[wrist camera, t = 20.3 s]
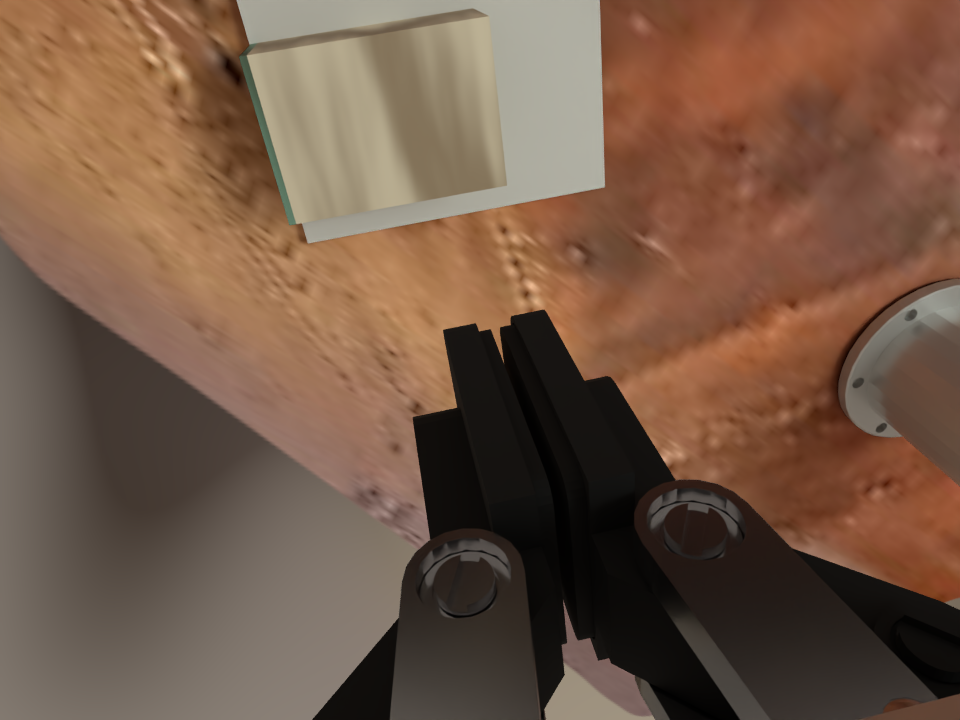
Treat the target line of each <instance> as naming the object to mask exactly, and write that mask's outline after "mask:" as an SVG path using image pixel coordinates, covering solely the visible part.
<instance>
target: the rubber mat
mask: <svg viewBox="0 0 960 720" xmlns="http://www.w3.org/2000/svg"><path fill="white" fill-rule="evenodd" d="M237 3H238V7H239V10H240V14H241V17H242V20H243V24H244V27H245V31H246V34H247V37H248V41H249V44H254V43H260V42H266V41H273V40H279V39H285V38H291V37H297V36H304V35H310V34H316V33H322V32H328V31H335V30H341V29H347V28H353V27H360V26H366V25H372V24H378V23H384V22H391V21H397V20H403V19H409V18H416V17H422V16H428V15H434V14H440V13H447V12H453V11H459V10H465V9H471V8H473V9H476V10H478V11H480V12H482V13H484V14H486V15H488V16H489V19H490V28H491V38H492V47H493V56H494V66H495V75H496V85H497V94H498V104H499V113H500V123H501V132H502V142H503V151H504V161H505V170H506V180H507V186H502V187H497V188H492V189H486V190H481V191H475V192H470V193H464V194H459V195H453V196H448V197H442V198H437V199H431V200H426V201H420V202H415V203H409V204H404V205H399V206H393V207H388V208H382V209H377V210H371V211H366V212H360V213H355V214H349V215H344V216H338V217H333V218H327V219H322V220H316V221H311V222H306V223H302V225H303V228H304V232H305V235H306V238H307V242H308V243H313V242H318V241H323V240H329V239H334V238H339V237H345V236H350V235H355V234H360V233H366V232H371V231H376V230H382V229H387V228H392V227H397V226H403V225H408V224H413V223H418V222H424V221H429V220H434V219H440V218H445V217H450V216H455V215H461V214H466V213H471V212H477V211H482V210H487V209H492V208H498V207H503V206H508V205H514V204H519V203H524V202H529V201H535V200H540V199H545V198H550V197H556V196H561V195H566V194H572V193H577V192H582V191H587V190H593V189H598V188H603V187H605V177H604V140H603V103H602V66H601V29H600V0H237Z"/></svg>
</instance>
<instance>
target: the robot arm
mask: <svg viewBox="0 0 960 720" xmlns="http://www.w3.org/2000/svg"><path fill="white" fill-rule="evenodd" d="M443 333H444V339H445V345H446V350H447V355H448V360H449V366H450V371H451V376H452V382H453V387H454V392H455V398H456V403H457V408H454V409H449V410H445V411H440V412H435V413H431V414H426V415H421V416H416V417H413V424H414V431H415V438H416V445H417V451H418V458H419V465H420V472H421V479H422V486H423V493H424V499H425V506H426V513H427V520H428V527H429V534H430V540H429V541H428V542H427V543H426V544H425V545H423V546H422V547H421V548H420V549H419V550H418V551H416V552H415V554H414V556H413V557H412V558H411V560H410V561H409V563H408V564H407V566H406V569H405V573H404V576H403V580H402V587H401V598H400V599H401V600H400V610H399V618H398V619H397V620H396V622H395V623H394V624H393V625H392V627H391V628H390V629H389V630H388V631H387V632H386V634H385V635H384V636H383V637H382V638H381V640H380V641H379V642H378V643H377V644H376V645H375V646H374V648H373V649H372V650H371V651H370V652H369V653H368V655H367V656H366V657H365V658H364V659H363V661H362V662H361V663H360V664H359V665H358V666H357V668H356V669H355V670H354V671H353V672H352V674H351V675H350V676H349V677H348V678H347V679H346V681H345V682H344V683H343V684H342V685H341V686H340V688H339V689H338V690H337V691H336V692H335V694H334V695H333V696H332V697H331V698H330V700H329V701H328V702H327V703H326V704H325V705H324V707H323V708H322V709H321V710H320V711H319V712H318V714H317V715H316V716H315V717H314V718H313V720H546V717H545V711H544V709H545V707H546V705H547V703H548V702H549V700H550V698H551V697H552V695H553V693H554V692H555V690H556V688H557V687H558V685H559V683H560V682H561V680H562V678H563V677H564V675H565V674H564V664H563V655H562V644H566V643H567V637H566V626H565V616H564V606H563V600H564V603H565V606H566V609H567V612H568V615H569V618H570V621H571V624H572V627H573V630H574V633H575V636H576V638H577V639H578V641H579V640H583V639H587V638H590V639H591V642H592V644H593V647H594V650H595V653H596V656H597V658H598V661H599V660H603V659H607V658H609V659H610V661H611V663H612V664H614V665H616V666H618V667H619V668H621V669H623V670H625V671H627V672H629V673H631V674H633V675H635V681H636V683H637V686H638V689H639V691H640V694H641V696H642V697H643V699H644V701H645V703H646V704H647V706H648V708H649V710H650V711H651V713H652V715H653V717H654V718H655V720H960V610H958V609H956V608H954V607H952V606H950V605H948V604H946V603H943V602H941V601H938V600H935V599H933V598H930V597H927V596H924V595H921V594H919V593H916V592H913V591H910V590H907V589H905V588H902V587H899V586H896V585H893V584H891V583H888V582H885V581H882V580H879V579H877V578H874V577H871V576H868V575H865V574H863V573H860V572H857V571H854V570H851V569H849V568H846V567H843V566H840V565H837V564H835V563H832V562H829V561H826V560H823V559H821V558H818V557H815V556H812V555H809V554H807V553H804V552H801V551H798V550H795V549H793V548H791V547H790V546H789V545H788V544H787V543H786V542H785V541H784V540H783V539H782V538H781V537H780V536H779V535H778V534H777V533H776V532H775V531H774V529H773V528H772V527H771V526H770V525H769V524H768V523H767V522H766V521H765V520H764V519H763V518H762V517H761V516H760V515H759V514H758V513H757V512H756V511H755V510H754V509H753V508H752V507H751V506H750V505H749V504H748V503H747V502H746V501H745V500H743V499H742V498H741V497H740V496H738V495H737V494H736V493H734V492H733V491H731V490H729V489H727V488H724V487H722V486H720V485H718V484H715V483H710V482H706V481H701V480H675V478H674V477H673V475H672V474H671V472H670V470H669V469H668V467H667V466H666V464H665V462H664V461H663V459H662V458H661V456H660V454H659V453H658V451H657V449H656V448H655V446H654V445H653V443H652V441H651V440H650V438H649V437H648V435H647V433H646V432H645V430H644V429H643V427H642V425H641V424H640V422H639V421H638V419H637V417H636V416H635V414H634V412H633V411H632V409H631V408H630V406H629V404H628V403H627V401H626V400H625V398H624V396H623V395H622V393H621V392H620V390H619V388H618V387H617V385H616V383H615V382H614V381H613V380H612V378H611V377H608V376H605V377H601V378H596V379H591V380H586V381H584V379H583V378H582V376H581V374H580V372H579V370H578V369H577V367H576V365H575V363H574V361H573V359H572V358H571V356H570V354H569V352H568V350H567V349H566V347H565V345H564V343H563V341H562V340H561V338H560V336H559V334H558V332H557V331H556V329H555V327H554V325H553V323H552V322H551V320H550V318H549V316H548V314H547V312H546V311H545V310H539V311H534V312H529V313H524V314H519V315H514V316H511V325H509V326H504V327H500V336H501V343H502V351H503V359H504V363H503V360H502V357H501V355H500V352H499V350H498V347H497V344H496V342H495V339H494V337H493V334H492V331H491V330H490V329H489V330H485V331H480V332H479V330H478V327H477V325H476V323H475V324H470V325H465V326H460V327H455V328H450V329H445V330H443ZM838 396H839V401H840V406H841V408H842V409H843V411H844V413H845V415H846V416H847V417H848V418H849V419H850V420H851V421H852V422H853V423H854V424H855V425H856V426H857V427H859V428H860V429H861V430H863V431H864V432H866V433H869V434H871V435H874V436H880V437H889V438H890V437H904V438H905V439H906V440H907V441H908V442H910V443H911V444H912V445H913V446H914V447H915V448H916V449H918V450H919V451H920V452H921V453H922V454H923V455H924V456H926V457H927V458H928V459H929V460H930V461H931V462H932V463H934V464H935V465H936V466H937V467H938V468H939V469H940V470H941V471H943V472H944V473H945V474H946V475H947V476H948V477H949V478H951V479H952V480H953V481H954V482H955V483H956V484H957V485H959V486H960V279H951V280H946V281H942V282H937V283H934V284H931V285H929V286H926V287H923V288H921V289H918V290H917V291H915V292H913V293H911V294H909V295H907V296H905V297H904V298H902V299H900V300H899V301H897V302H896V303H895V304H893V305H892V306H890V307H889V308H888V309H886V310H885V311H884V312H883V313H882V314H881V315H879V316H878V317H877V318H876V319H875V320H874V321H873V322H872V323H871V324H870V325H869V326H868V327H867V328H866V330H865V331H864V332H863V333H862V334H861V335H860V337H859V338H858V339H857V341H856V342H855V344H854V346H853V347H852V349H851V350H850V352H849V354H848V356H847V358H846V360H845V363H844V365H843V367H842V371H841V374H840V378H839V385H838Z"/></svg>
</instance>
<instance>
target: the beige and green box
mask: <svg viewBox="0 0 960 720" xmlns="http://www.w3.org/2000/svg"><path fill="white" fill-rule="evenodd" d="M239 58H240V62H241V65H242V68H243V72H244V75H245V78H246V82H247V85H248V88H249V92H250V95H251V98H252V102H253V105H254V108H255V112H256V115H257V118H258V122H259V125H260V128H261V132H262V135H263V138H264V142H265V145H266V148H267V152H268V155H269V158H270V162H271V165H272V168H273V172H274V175H275V178H276V182H277V185H278V188H279V192H280V195H281V198H282V202H283V205H284V208H285V212H286V215H287V218H288V222H289V225H295V224H300V223H306V222H311V221H316V220H322V219H327V218H333V217H338V216H344V215H349V214H355V213H360V212H366V211H371V210H377V209H382V208H388V207H393V206H399V205H404V204H409V203H415V202H420V201H426V200H431V199H437V198H442V197H448V196H453V195H459V194H464V193H470V192H475V191H481V190H486V189H492V188H497V187H502V186H507V180H506V170H505V161H504V151H503V142H502V132H501V123H500V113H499V104H498V94H497V85H496V75H495V66H494V56H493V47H492V38H491V28H490V19H489V16H488V15H486V14H484V13H482V12H480V11H478V10H476V9H473V8H471V9H465V10H459V11H453V12H447V13H440V14H434V15H428V16H422V17H416V18H409V19H403V20H397V21H391V22H384V23H378V24H372V25H366V26H360V27H353V28H347V29H341V30H335V31H328V32H322V33H316V34H310V35H304V36H297V37H291V38H285V39H279V40H273V41H266V42H260V43H254V44H250V46H249V47H248V48H247V49H246V50H245V51H244V52H243V53H242V54H241V55H240V56H239Z"/></svg>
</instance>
